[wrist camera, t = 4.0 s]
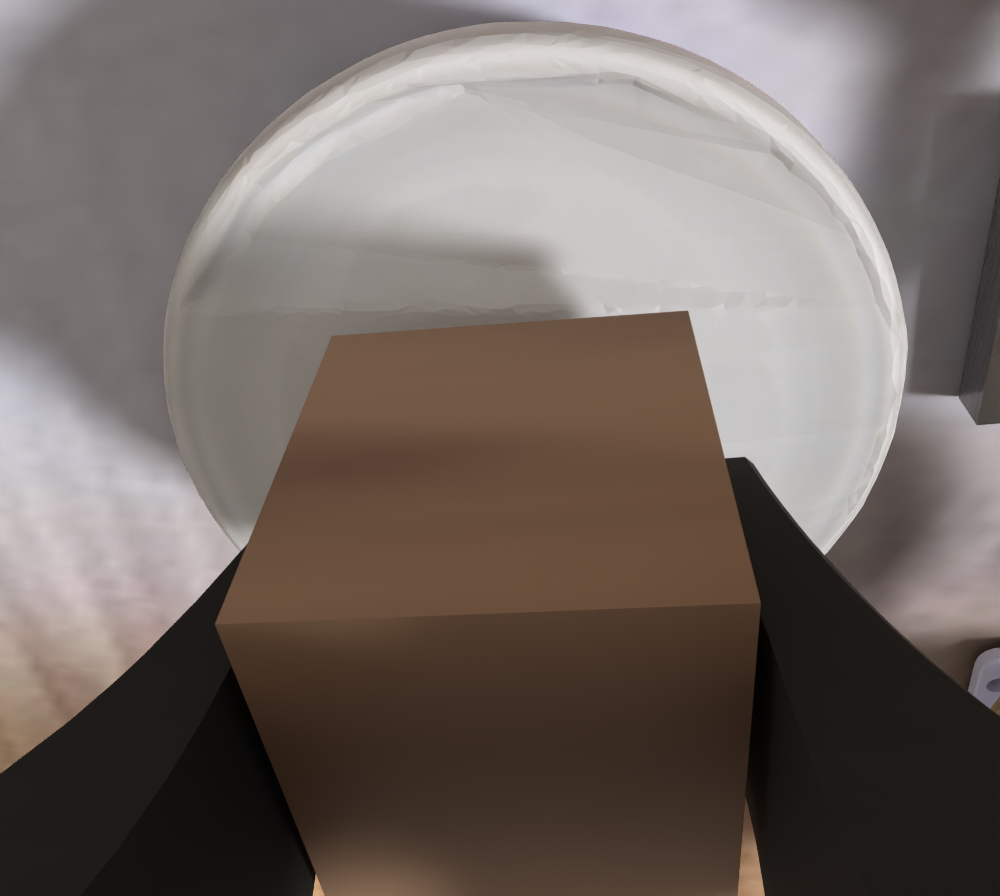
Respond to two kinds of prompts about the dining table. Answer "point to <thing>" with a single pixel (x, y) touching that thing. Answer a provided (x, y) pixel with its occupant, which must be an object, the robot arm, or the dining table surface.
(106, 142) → the dining table surface
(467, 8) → the dining table surface
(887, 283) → the ramekin
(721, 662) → the block
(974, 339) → the balance
